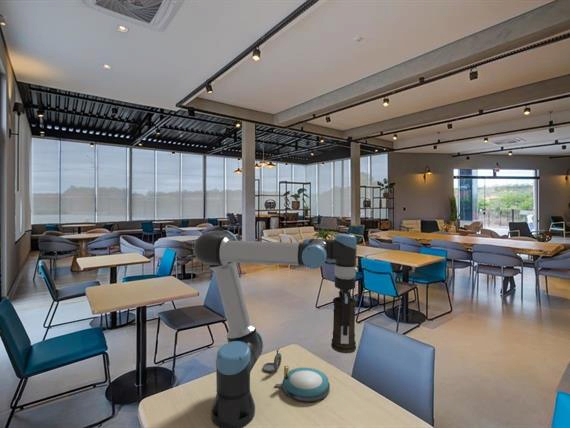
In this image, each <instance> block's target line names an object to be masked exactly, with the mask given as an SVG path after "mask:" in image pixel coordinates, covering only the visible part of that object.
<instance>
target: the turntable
mask: <svg viewBox="0 0 570 428" xmlns="http://www.w3.org/2000/svg"><path fill="white" fill-rule="evenodd" d="M283 380H284V387H285V388H286V390H287V391H288V392H290V393H292V394H294V395H296V396H300V397H315V396H319V395H321V394H323V393H324V392H325V391H326V390H327V389H328V382H329V379H328V376H327V375H326V374H325V373H324V372H323V371H321V370H318V369H315V368H313V367H298V368H297V367H296V368H294V369H290V370H289V366H288V365H284V366H283Z"/></svg>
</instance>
